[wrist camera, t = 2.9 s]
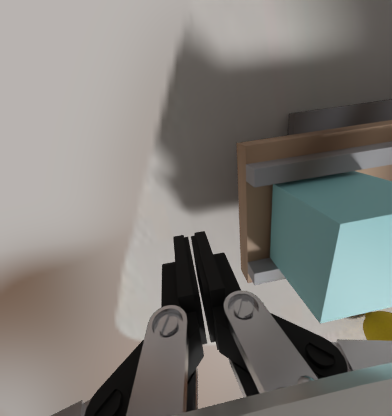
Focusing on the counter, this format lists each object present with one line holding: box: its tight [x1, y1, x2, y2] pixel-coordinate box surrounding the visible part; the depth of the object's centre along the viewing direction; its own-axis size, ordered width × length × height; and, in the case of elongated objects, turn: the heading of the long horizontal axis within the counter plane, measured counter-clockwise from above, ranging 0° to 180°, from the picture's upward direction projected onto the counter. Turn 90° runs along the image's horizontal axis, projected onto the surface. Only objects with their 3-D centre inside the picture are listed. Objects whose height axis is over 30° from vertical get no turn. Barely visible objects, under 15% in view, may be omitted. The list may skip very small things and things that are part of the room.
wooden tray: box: [237, 99, 392, 285], centre depth 16 cm, size 22×12×7 cm, turn 97°
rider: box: [270, 171, 392, 323], centre depth 11 cm, size 5×5×5 cm
